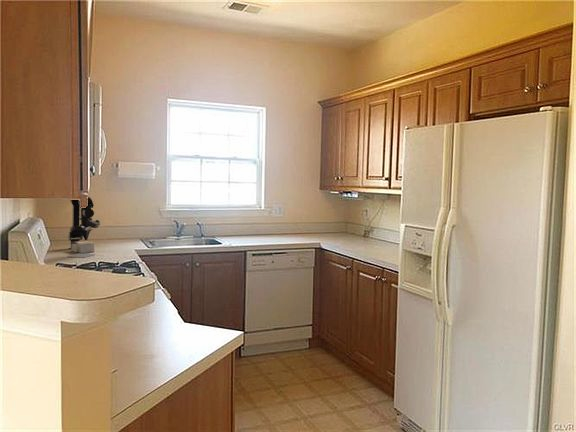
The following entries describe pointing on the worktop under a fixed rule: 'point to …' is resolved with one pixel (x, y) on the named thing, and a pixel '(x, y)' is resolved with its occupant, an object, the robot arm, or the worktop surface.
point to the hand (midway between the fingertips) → (86, 240)
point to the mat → (81, 255)
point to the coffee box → (82, 246)
